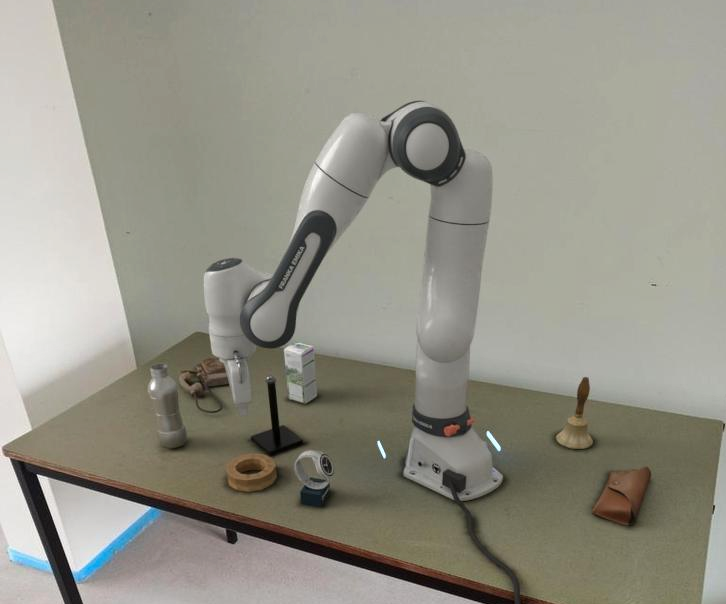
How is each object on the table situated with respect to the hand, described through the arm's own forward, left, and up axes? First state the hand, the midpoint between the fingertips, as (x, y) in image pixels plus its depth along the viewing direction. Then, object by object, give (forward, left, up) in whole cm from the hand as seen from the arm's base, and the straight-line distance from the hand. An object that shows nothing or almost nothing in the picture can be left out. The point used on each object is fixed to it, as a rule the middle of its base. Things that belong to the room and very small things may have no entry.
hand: (240, 404), depth 141 cm
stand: (+6, -11, -16) cm, 20 cm away
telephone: (+43, -11, -16) cm, 47 cm away
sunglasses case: (-57, -56, -16) cm, 81 cm away
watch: (-19, -6, -16) cm, 26 cm away
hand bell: (-36, -67, -16) cm, 77 cm away
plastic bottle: (+20, +9, -16) cm, 27 cm away
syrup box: (+22, -28, -16) cm, 39 cm away
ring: (-4, +1, -16) cm, 16 cm away
